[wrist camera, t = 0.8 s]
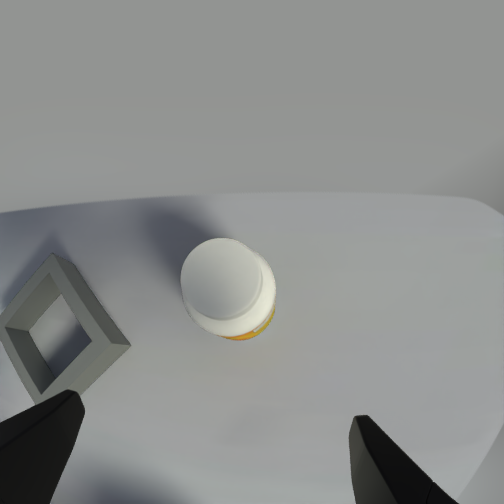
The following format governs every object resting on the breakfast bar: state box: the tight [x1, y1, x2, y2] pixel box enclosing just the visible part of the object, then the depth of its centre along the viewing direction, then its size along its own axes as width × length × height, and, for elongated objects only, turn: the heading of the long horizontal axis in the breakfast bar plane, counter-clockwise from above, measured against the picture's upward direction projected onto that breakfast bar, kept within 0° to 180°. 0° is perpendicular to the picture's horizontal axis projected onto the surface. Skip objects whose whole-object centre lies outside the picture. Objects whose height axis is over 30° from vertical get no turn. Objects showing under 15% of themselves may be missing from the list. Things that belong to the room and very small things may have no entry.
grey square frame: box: [0, 253, 131, 405], centre depth 23 cm, size 10×10×4 cm
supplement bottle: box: [180, 238, 276, 340], centre depth 20 cm, size 5×5×10 cm
